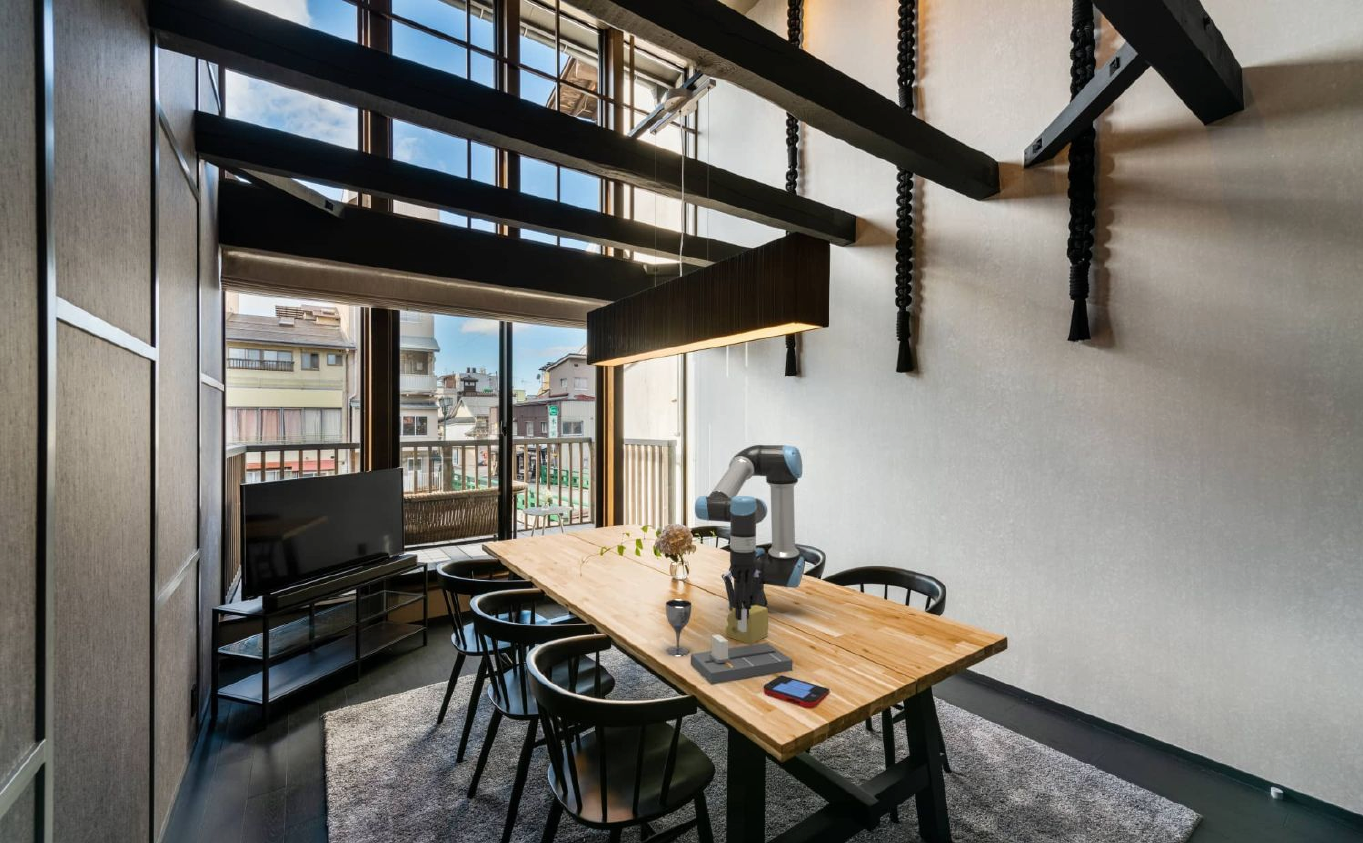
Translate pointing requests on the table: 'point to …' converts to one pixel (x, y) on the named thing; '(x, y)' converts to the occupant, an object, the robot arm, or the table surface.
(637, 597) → the table surface
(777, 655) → the board
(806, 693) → the red and black smartphone
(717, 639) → the fader
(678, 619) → the wine glass
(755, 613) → the cheese
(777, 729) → the table surface
